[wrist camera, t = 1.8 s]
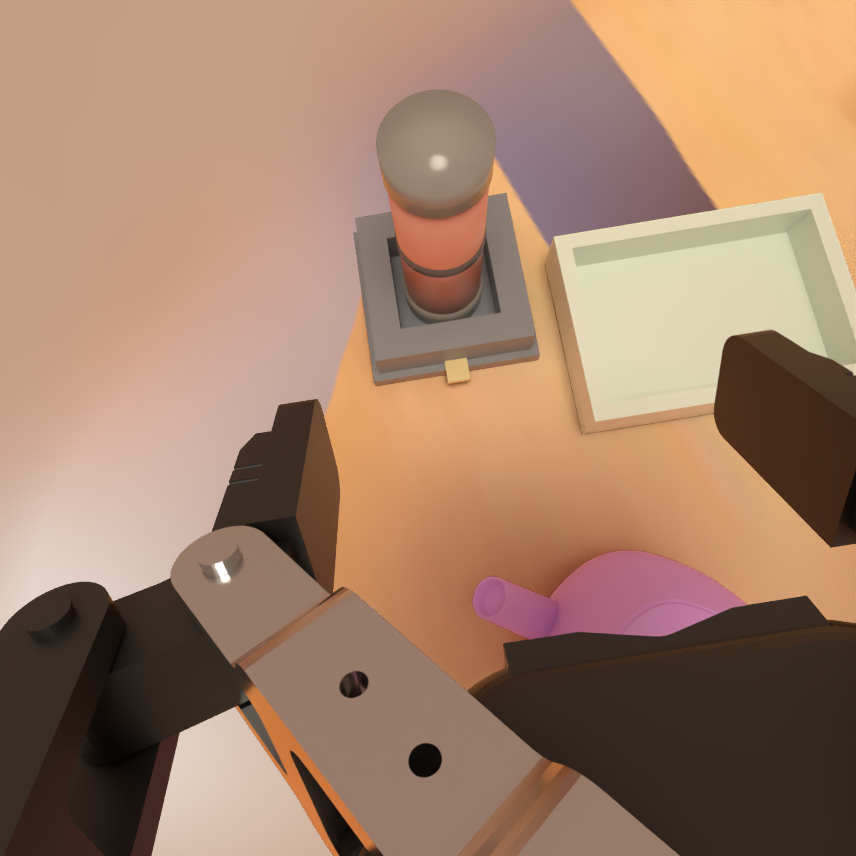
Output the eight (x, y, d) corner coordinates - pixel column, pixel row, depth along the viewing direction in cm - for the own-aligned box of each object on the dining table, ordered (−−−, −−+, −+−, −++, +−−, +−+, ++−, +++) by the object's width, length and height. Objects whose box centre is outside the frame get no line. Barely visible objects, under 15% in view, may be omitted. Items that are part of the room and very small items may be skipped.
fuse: (474, 251, 33) (484, 80, 21) (487, 320, 32) (505, 182, 20) (400, 263, 33) (369, 100, 21) (411, 333, 32) (384, 202, 20)
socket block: (505, 203, 34) (509, 172, 31) (540, 373, 32) (548, 356, 29) (354, 228, 34) (345, 199, 31) (378, 399, 32) (370, 384, 29)
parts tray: (789, 225, 33) (822, 192, 30) (844, 392, 31) (885, 375, 28) (545, 265, 33) (553, 236, 30) (582, 434, 31) (595, 421, 28)
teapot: (712, 843, 27) (846, 993, 17) (424, 675, 29) (409, 730, 20) (795, 632, 28) (956, 668, 19) (518, 489, 30) (544, 461, 21)
